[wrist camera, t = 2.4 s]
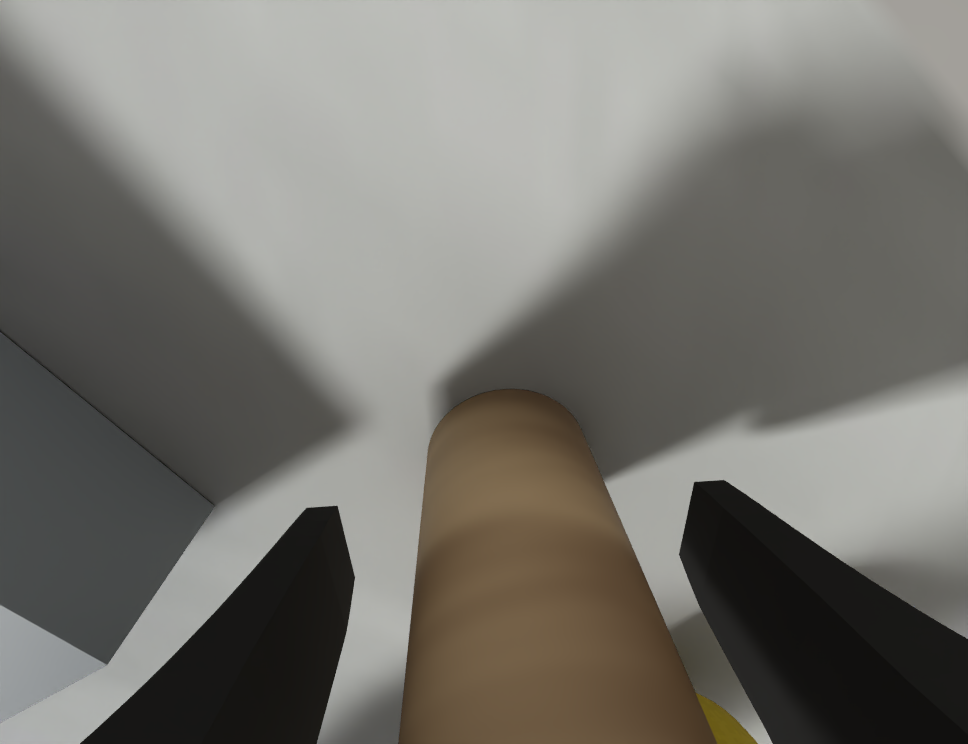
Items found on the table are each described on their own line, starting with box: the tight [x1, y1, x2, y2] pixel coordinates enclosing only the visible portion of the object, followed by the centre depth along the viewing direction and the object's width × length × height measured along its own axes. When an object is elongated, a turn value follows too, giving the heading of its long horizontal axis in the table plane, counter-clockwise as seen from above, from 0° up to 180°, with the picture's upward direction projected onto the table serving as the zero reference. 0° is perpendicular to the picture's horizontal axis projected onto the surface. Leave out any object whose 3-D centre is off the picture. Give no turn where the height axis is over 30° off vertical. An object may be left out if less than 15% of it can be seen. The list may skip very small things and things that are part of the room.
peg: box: [398, 389, 717, 744], centre depth 8 cm, size 4×4×8 cm
